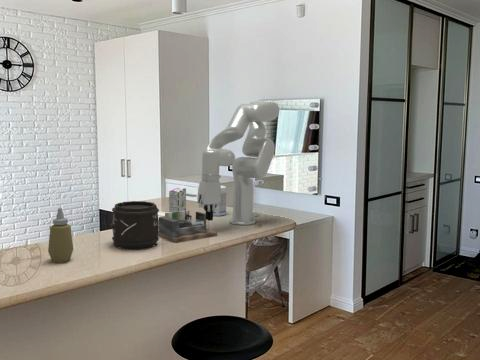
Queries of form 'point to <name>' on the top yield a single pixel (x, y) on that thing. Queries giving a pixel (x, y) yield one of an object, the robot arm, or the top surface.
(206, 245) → the top surface
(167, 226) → the force tester
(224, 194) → the supplement tub
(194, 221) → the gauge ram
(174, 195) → the candy bar box
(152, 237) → the black round canister
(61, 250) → the squeeze bottle
